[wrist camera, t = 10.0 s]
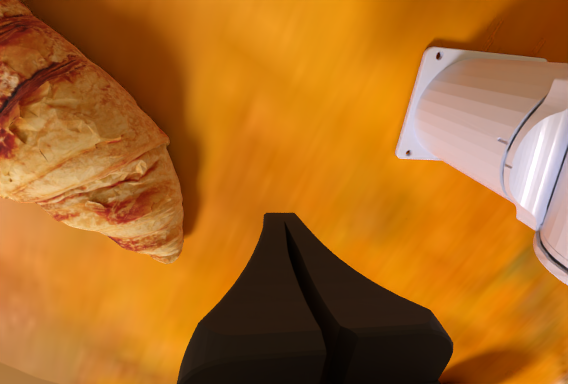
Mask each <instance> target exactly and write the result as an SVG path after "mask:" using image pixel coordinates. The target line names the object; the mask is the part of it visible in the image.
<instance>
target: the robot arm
mask: <svg viewBox="0 0 568 384" xmlns="http://www.w3.org/2000/svg"><path fill="white" fill-rule="evenodd" d="M438 52H440V57H439V58H438V59H436V55H437V53H438ZM408 150H410V152H409V153H408V154H406V152H407V151H408ZM395 154H396V156H397V157H398V158H401V159H422V160H443V161H444V162H446V163H448V164H449V165H451V166H453V167H454V168H456V169H458V170H459V171H461V172H463V173H464V174H466V175H468V176H469V177H471V178H473V179H474V180H476V181H478V182H479V183H481V184H483V185H484V186H486V187H488V188H489V189H491V190H493V191H494V192H496V193H498V194H499V195H501V196H503V197H504V198H506V199H508V200H509V201H511V202H513V203H514V204H515V205H516V208H517V215H516V218H517V219H518V220H520V221H521V222H523V223H525V224H526V225H528V226H529V227H531V228H532V229H534V230H535V231H536V232H535V235H534V238H533V247H534V251H535V254H536V255H537V257H538V259H539V260H540V262H541V263H542V264H543V265H544V266H545V268H546V269H548V270H549V271H550V272H551V273H552V274H553V275H554V276H555V277H557V278H558V279H560V280H561V281H562V282H564V283H565V284H567V285H568V63H557V62H547V60H546V59H544V58H536V57H527V56H517V55H508V54H498V53H489V52H480V51H470V50H461V49H452V48H442V47H429V48H427V49H426V50H425V52H424V54H423V57H422V61H421V64H420V68H419V71H418V75H417V78H416V82H415V85H414V89H413V92H412V95H411V99H410V102H409V106H408V109H407V113H406V116H405V120H404V123H403V127H402V130H401V133H400V137H399V140H398V144H397V147H396V151H395ZM452 353H453V342H452V340H451V339H450V337H449V335H448V334H447V332H446V331H445V330H444V328H443V327H442V325H441V324H440V322H439V321H438V320H437V318H436V317H435V316H434V314H433V313H432V312H431V310H429V309H427V308H425V307H423V306H420V305H418V304H416V303H414V302H412V301H409V300H407V299H405V298H403V297H400V296H398V295H396V294H395V293H393V292H391V291H389V290H387V289H385V288H383V287H381V286H380V285H378V284H376V283H374V282H373V281H371V280H369V279H368V278H366V277H365V276H363V275H362V274H360V273H358V272H357V271H356V270H354V269H353V268H351V267H350V266H349V265H347V264H346V263H345V262H343V261H342V260H341V259H339V258H338V257H337V256H336V255H335V254H333V253H332V252H331V251H330V250H329V249H328V248H327V247H326V246H324V245H323V244H322V243H321V242H320V241H319V240H318V239H317V238H316V237H315V235H314V234H313V233H312V232H311V231H310V230H309V229H308V228H307V227H306V226H305V224H304V223H303V222H302V221H301V220H300V219H299V217H298V216H297V215H296V214H295V213H266V214H265V215H264V221H263V229H262V232H261V235H260V238H259V241H258V244H257V246H256V248H255V250H254V252H253V254H252V256H251V258H250V260H249V262H248V264H247V265H246V267H245V269H244V270H243V272H242V273H241V275H240V276H239V278H238V279H237V281H236V282H235V283H234V285H233V286H232V287H231V289H230V290H229V291H228V292H227V293H226V295H225V296H224V297H223V298H222V299H221V300H220V302H219V303H218V304H217V305H216V306H215V307H214V308H213V309H212V310H211V311H210V312H209V313H208V314H207V315H206V316H205V317H204V318H203V319H202V320H201V321H200V322H199V323H198V325H197V327H196V329H195V331H194V333H193V335H192V337H191V339H190V342H189V344H188V346H187V349H186V351H185V354H184V357H183V360H182V363H181V366H180V371H179V376H178V381H177V384H440V382H439V380H438V379H439V377H440V375H441V374H442V372H443V370H444V369H445V367H446V366H447V364H448V362H449V360H450V358H451V356H452Z"/></svg>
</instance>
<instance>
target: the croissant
mask: <svg viewBox="0 0 568 384" xmlns="http://www.w3.org/2000/svg"><path fill="white" fill-rule="evenodd" d="M169 144H170V139H169V137H168V136H167V135H166V134H165V133H164V132H163V131H162V130H161V129H160V128H159V127H158V126H157V125H156V124H155V122H154V121H153V120H152V119H151V118H150V117H149V116H148V115H147V114H145V113H144V112H143V111H142V110H141V109H140V108H139V107H138V106H137V103H136V101H135V99H134V98H133V97H132V96H131V95H130V94H129V93H128V92H127V91H126V90H125V89H124V88H123V87H122V86H121V85H120V84H119V83H118V82H117V81H116V80H114V79H113V78H112V77H111V76H110V75H109V74H108V73H106V72H105V71H104V70H103V69H102V68H100V67H99V66H97V65H96V64H94V63H93V62H91V61H90V60H89V59H87V58H86V57H85V56H84V55H83V54H82V53H81V52H80V51H79V50H78V49H77V48H76V47H75V46H74V45H72V44H71V43H70V42H68V41H67V40H66V39H64V38H63V37H62V36H61V35H60V34H59V33H57V32H56V31H55V30H53V29H52V28H51V27H49V26H48V25H47V24H45V23H44V22H42V21H41V20H39V19H37V18H36V17H34V16H33V14H32V13H31V11H30V10H29V9H28V8H27V7H26V6H25V5H24V4H23V3H21V2H20V1H19V0H0V197H2V198H4V199H8V198H10V199H12V200H14V201H16V202H19V203H31V202H35V203H37V204H40V205H41V207H42V209H44V210H45V211H46V212H47V213H48V214H49V215H50V216H51V217H52V218H54V219H55V220H57V221H62V222H64V223H65V224H67V225H69V226H71V227H75V228H79V229H84V230H89V231H99V232H100V233H102V234H104V235H107V236H108V237H109V238H111V239H112V240H114V241H115V242H116V243H117V244H119V245H120V246H121V247H123V248H124V249H126V250H130V251H134V252H137V253H143V254H149V255H150V256H151V257H152V258H154V259H156V260H158V261H160V262H163V263H165V264H169V263H172V262H174V261H175V260H176V259H177V258H178V257H179V255H180V253H181V251H182V247H183V242H184V240H183V239H184V236H183V228H182V225H183V218H184V213H183V206H182V201H183V196H182V193H181V189H180V183H179V179H178V176H177V174H176V172H175V169H174V166H173V163H172V160H171V158H170V156H169V153H168V151H167V149H166V147H167V146H168V145H169Z"/></svg>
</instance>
